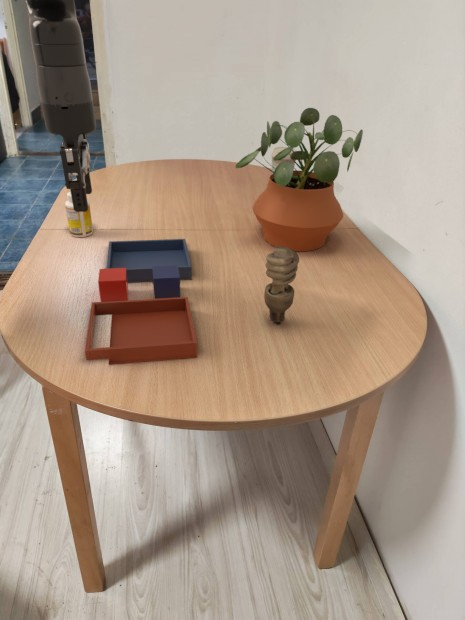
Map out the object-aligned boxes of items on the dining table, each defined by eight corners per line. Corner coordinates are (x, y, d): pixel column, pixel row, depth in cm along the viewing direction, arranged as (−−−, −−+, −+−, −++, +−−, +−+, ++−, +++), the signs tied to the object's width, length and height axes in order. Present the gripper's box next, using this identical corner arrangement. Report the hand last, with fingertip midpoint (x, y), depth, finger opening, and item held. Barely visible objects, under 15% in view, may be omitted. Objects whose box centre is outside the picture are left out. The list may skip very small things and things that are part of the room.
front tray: (87, 366, 71) (84, 351, 69) (93, 316, 82) (91, 302, 81) (197, 357, 74) (197, 342, 72) (188, 310, 85) (187, 296, 84)
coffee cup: (264, 188, 149) (267, 150, 143) (272, 181, 156) (276, 145, 149) (289, 192, 147) (293, 154, 140) (296, 185, 153) (301, 148, 147)
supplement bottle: (90, 227, 116) (85, 188, 110) (95, 236, 112) (90, 195, 106) (68, 230, 114) (61, 190, 108) (71, 239, 109) (65, 198, 104)
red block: (101, 304, 86) (97, 281, 83) (102, 291, 90) (99, 268, 87) (128, 302, 87) (125, 280, 84) (128, 289, 91) (126, 267, 88)
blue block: (154, 301, 88) (153, 278, 85) (153, 288, 92) (152, 266, 89) (180, 299, 88) (179, 277, 86) (178, 287, 93) (177, 265, 90)
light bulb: (282, 335, 80) (292, 258, 72) (254, 325, 82) (261, 250, 74) (295, 320, 84) (305, 246, 76) (268, 311, 86) (276, 238, 78)
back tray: (107, 283, 92) (106, 270, 91) (110, 253, 104) (109, 241, 102) (191, 279, 95) (191, 266, 94) (185, 250, 107) (185, 238, 105)
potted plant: (355, 255, 109) (383, 122, 93) (242, 264, 102) (251, 123, 86) (317, 219, 127) (335, 104, 111) (219, 225, 121) (223, 103, 104)
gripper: (47, 91, 74) (65, 189, 83) (32, 106, 62) (55, 218, 71) (95, 91, 75) (108, 187, 84) (88, 106, 63) (104, 216, 72)
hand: (83, 201), depth 77 cm, fingers open, 8 cm apart
